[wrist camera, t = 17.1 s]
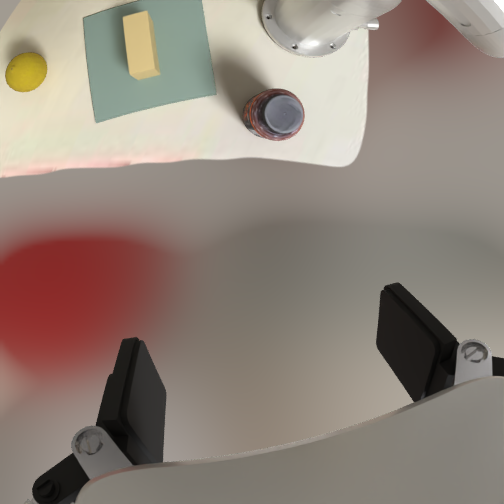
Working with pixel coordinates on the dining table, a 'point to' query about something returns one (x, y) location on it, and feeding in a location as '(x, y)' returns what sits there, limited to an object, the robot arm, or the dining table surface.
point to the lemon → (26, 72)
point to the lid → (147, 56)
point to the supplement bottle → (274, 114)
